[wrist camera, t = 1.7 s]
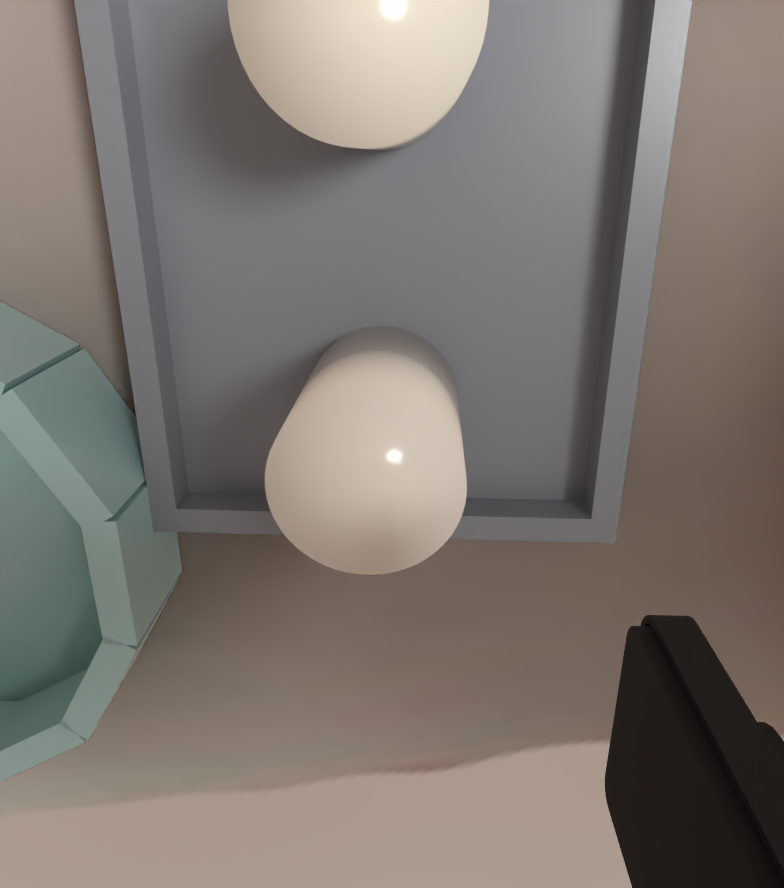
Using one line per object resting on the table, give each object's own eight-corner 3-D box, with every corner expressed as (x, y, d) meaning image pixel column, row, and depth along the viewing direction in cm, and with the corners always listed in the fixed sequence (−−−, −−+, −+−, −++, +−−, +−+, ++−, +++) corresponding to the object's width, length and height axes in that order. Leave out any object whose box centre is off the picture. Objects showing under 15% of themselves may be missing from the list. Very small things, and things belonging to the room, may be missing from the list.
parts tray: (687, -145, 16) (717, -180, 14) (601, 514, 22) (615, 543, 21) (87, -133, 17) (49, -165, 15) (173, 504, 23) (153, 531, 21)
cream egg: (459, 326, 20) (471, 393, 14) (454, 468, 21) (463, 577, 16) (305, 325, 20) (257, 390, 14) (312, 465, 22) (271, 572, 16)
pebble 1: (474, -55, 16) (496, -162, 11) (466, 150, 18) (482, 148, 12) (287, -52, 16) (215, -157, 11) (297, 150, 18) (238, 148, 13)
